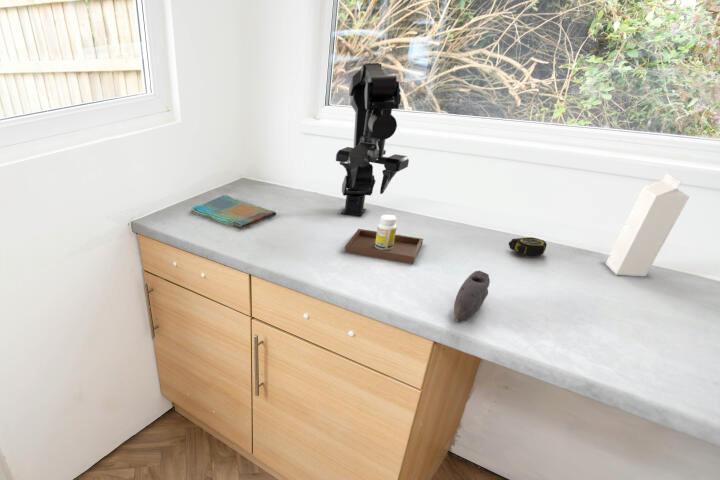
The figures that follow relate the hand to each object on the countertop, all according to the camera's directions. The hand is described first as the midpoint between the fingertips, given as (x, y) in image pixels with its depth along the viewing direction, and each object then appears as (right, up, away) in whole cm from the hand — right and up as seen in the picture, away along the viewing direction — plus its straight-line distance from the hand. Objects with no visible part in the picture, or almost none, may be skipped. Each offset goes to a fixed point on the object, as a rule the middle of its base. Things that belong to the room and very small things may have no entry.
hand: (366, 190), depth 132 cm
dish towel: (-36, -1, +23) cm, 43 cm away
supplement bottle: (+3, -17, -4) cm, 18 cm away
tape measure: (+38, -20, -10) cm, 44 cm away
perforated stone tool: (+11, -36, -31) cm, 49 cm away
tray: (+3, -17, -4) cm, 18 cm away
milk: (+56, -26, -19) cm, 64 cm away
